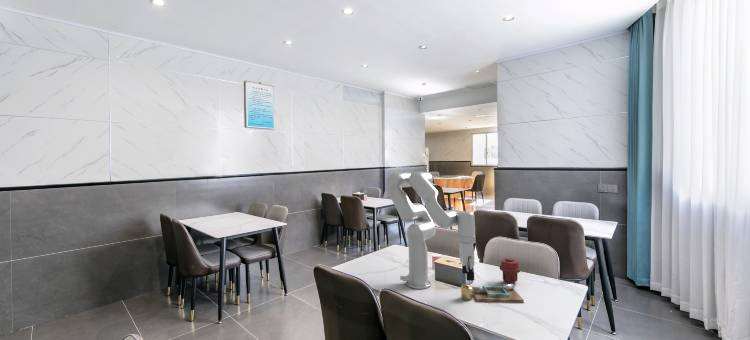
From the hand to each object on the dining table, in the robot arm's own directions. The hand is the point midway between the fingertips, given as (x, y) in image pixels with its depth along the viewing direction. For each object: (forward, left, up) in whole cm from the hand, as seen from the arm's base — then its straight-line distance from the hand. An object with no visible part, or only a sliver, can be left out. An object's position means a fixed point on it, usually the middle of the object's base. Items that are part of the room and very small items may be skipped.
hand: (468, 276), depth 145 cm
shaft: (+20, +9, -10) cm, 24 cm away
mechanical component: (+25, +22, -11) cm, 35 cm away
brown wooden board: (+13, +5, -10) cm, 17 cm away
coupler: (-1, +1, -10) cm, 10 cm away
